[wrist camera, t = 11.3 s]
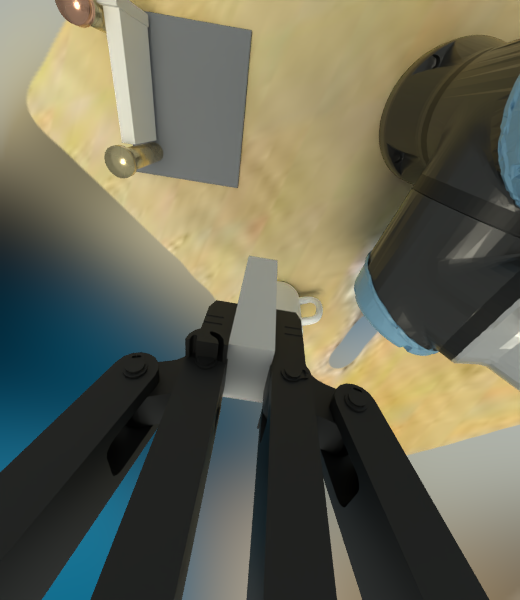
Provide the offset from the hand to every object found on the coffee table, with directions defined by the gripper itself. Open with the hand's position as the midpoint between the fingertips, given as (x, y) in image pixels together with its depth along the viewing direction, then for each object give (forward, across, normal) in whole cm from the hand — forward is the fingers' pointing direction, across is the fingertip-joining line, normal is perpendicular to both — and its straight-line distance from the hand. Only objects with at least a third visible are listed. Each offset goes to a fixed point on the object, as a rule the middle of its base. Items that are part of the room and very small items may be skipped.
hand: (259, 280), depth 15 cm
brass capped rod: (+30, -19, +13) cm, 38 cm away
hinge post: (+30, -17, +1) cm, 35 cm away
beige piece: (+29, -17, +8) cm, 34 cm away
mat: (+30, -12, +6) cm, 33 cm away
